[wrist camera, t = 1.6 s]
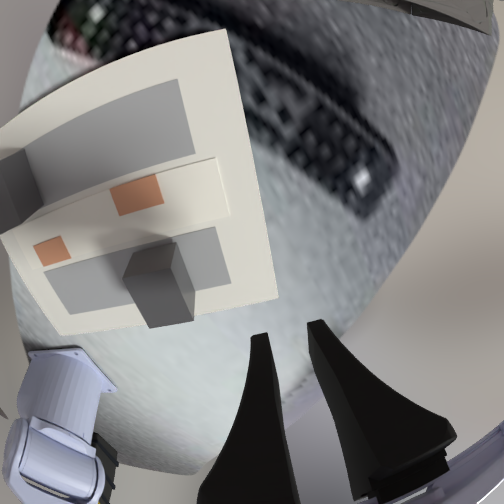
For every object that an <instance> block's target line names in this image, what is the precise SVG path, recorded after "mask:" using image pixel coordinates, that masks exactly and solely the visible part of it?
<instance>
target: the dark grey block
mask: <svg viewBox="0 0 504 504" xmlns="http://www.w3.org/2000/svg"><path fill="white" fill-rule="evenodd" d="M122 280H123V282H124V284H125V286H126V288H127V290H128V291H129V293H130V295H131V297H132V299H133V301H134V302H135V304H136V306H137V308H138V310H139V311H140V313H141V315H142V317H143V318H144V320H145V322H146V323H147V325H148V327H149V328H156V327H162V326H168V325H173V324H179V323H185V322H190V321H194V309H195V293H196V292H195V289H194V287H193V284H192V282H191V279H190V276H189V274H188V271H187V269H186V266H185V263H184V261H183V258H182V255H181V253H180V250H179V247H178V244H177V242H174V243H169V244H165V245H161V246H157V247H153V248H149V249H145V250H141V251H137V252H134V253H133V254H132V256H131V259H130V261H129V263H128V265H127V268H126V270H125V272H124V275H123V277H122Z"/></svg>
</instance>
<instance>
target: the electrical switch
mask: <svg viewBox="0 0 504 504" xmlns="http://www.w3.org/2000/svg"><path fill="white" fill-rule="evenodd" d="M340 1H348V2H355V3H361V4H367V5H372V6H377V7H382V8H387V9H391V10H395V11H399V12H403V13H407V14H411V7H412V15H414V16H419V17H425V18H430V19H435V20H439V21H443V22H447V23H451V24H455V25H459V26H462V27H466V28H469V29H472V30H475V31H478V32H481V33H484V34H487V35H490V36H491V35H492V24H491V17H492V14H493V0H384V1H385V2H384V1H383V0H340ZM500 1H504V0H500Z"/></svg>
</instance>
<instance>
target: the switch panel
mask: <svg viewBox="0 0 504 504" xmlns="http://www.w3.org/2000/svg"><path fill="white" fill-rule="evenodd" d="M24 149H25V152H26V155H27V159H28V162H29V165H30V168H31V171H32V174H33V177H34V179H35V182H36V185H37V188H38V190H39V193H40V196H41V198H42V201H43V203H44V205H43V206H42V207H41V208H40V209H38V210H37V211H36V212H35V213H34V214H33V215H31V216H30V217H29V218H28V219H27V220H26V221H25V222H23V223H22V224H21V225H19V226H16V227H14V228H12V229H10V230H8V231H7V232H5V233H3V234H1V235H0V238H1V240H2V242H3V245H4V247H5V249H6V250H7V252H8V254H9V256H10V258H11V260H12V262H13V264H14V266H15V267H16V269H17V271H18V273H19V274H20V276H21V278H22V280H23V281H24V283H25V285H26V286H27V288H28V289H29V291H30V293H31V294H32V296H33V297H34V299H35V300H36V302H37V303H38V305H39V306H40V308H41V309H42V311H43V312H44V314H45V315H46V317H47V318H48V319H49V321H50V322H51V323H52V325H53V326H54V328H55V329H56V330H57V332H58V333H59V334H60V335H61V336H67V335H76V334H84V333H91V332H99V331H106V330H113V329H120V328H127V327H133V326H139V325H146V324H147V323H146V322H145V320H144V318H143V317H142V315H141V313H140V311H139V310H138V308H137V306H136V304H135V302H134V301H133V299H132V297H131V295H130V293H129V291H128V290H127V288H126V286H125V284H124V282H123V280H122V277H123V275H124V272H125V270H126V268H127V265H128V263H129V261H130V259H131V256H132V254H133V253H134V252H137V251H141V250H145V249H149V248H153V247H157V246H161V245H165V244H169V243H174V242H177V244H178V247H179V250H180V253H181V255H182V258H183V261H184V263H185V266H186V269H187V271H188V274H189V276H190V279H191V282H192V284H193V287H194V289H195V292H196V293H195V309H194V316H196V315H202V314H207V313H212V312H217V311H222V310H227V309H232V308H236V307H241V306H246V305H250V304H255V303H259V302H264V301H268V300H273V299H277V298H279V297H278V291H277V285H276V279H275V274H274V268H273V262H272V257H271V251H270V245H269V240H268V234H267V229H266V224H265V218H264V213H263V207H262V202H261V197H260V192H259V186H258V181H257V176H256V171H255V166H254V161H253V155H252V150H251V145H250V140H249V135H248V130H247V125H246V121H245V116H244V111H243V106H242V101H241V96H240V92H239V87H238V82H237V78H236V73H235V68H234V64H233V59H232V54H231V50H230V45H229V41H228V36H227V32H226V29H222V30H217V31H212V32H207V33H202V34H198V35H194V36H190V37H186V38H182V39H178V40H175V41H171V42H168V43H164V44H161V45H158V46H155V47H152V48H149V49H146V50H143V51H140V52H137V53H135V54H132V55H129V56H127V57H124V58H122V59H119V60H117V61H114V62H112V63H109V64H107V65H105V66H103V67H100V68H98V69H96V70H94V71H92V72H90V73H88V74H86V75H84V76H82V77H80V78H78V79H76V80H74V81H72V82H70V83H68V84H66V85H65V86H63V87H61V88H59V89H57V90H56V91H54V92H52V93H51V94H49V95H47V96H46V97H44V98H42V99H41V100H39V101H38V102H36V103H35V104H33V105H32V106H30V107H29V108H27V109H26V110H24V111H23V112H21V113H20V114H19V115H17V116H16V117H14V118H13V119H12V120H10V121H9V122H8V123H6V124H5V125H4V126H3V127H1V128H0V160H2V159H4V158H6V157H8V156H10V155H13V154H15V153H17V152H19V151H22V150H24Z"/></svg>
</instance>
